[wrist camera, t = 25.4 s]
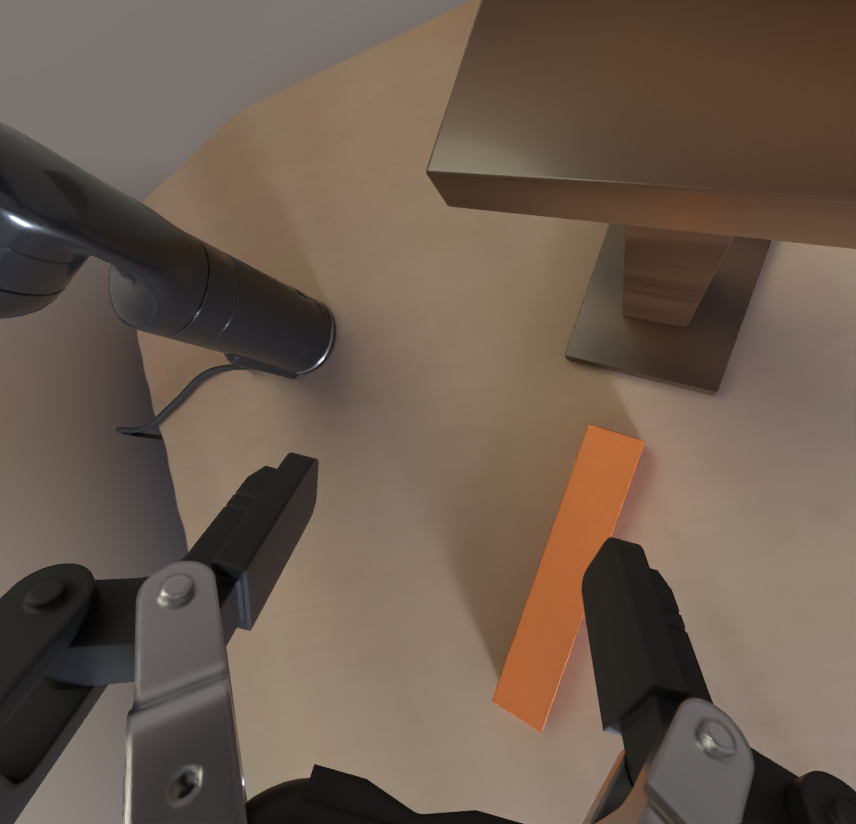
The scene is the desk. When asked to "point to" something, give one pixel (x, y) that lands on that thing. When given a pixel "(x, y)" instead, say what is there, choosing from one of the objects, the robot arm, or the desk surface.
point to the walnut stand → (661, 155)
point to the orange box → (566, 574)
